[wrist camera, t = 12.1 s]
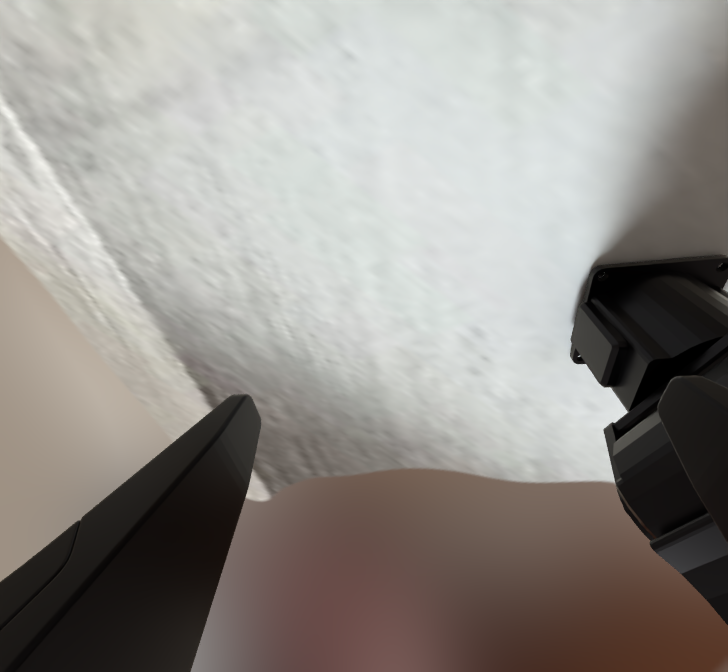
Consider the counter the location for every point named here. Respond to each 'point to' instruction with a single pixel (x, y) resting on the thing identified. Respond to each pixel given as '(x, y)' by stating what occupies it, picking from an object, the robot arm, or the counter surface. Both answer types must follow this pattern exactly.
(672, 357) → the robot arm
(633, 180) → the counter surface
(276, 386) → the counter surface
